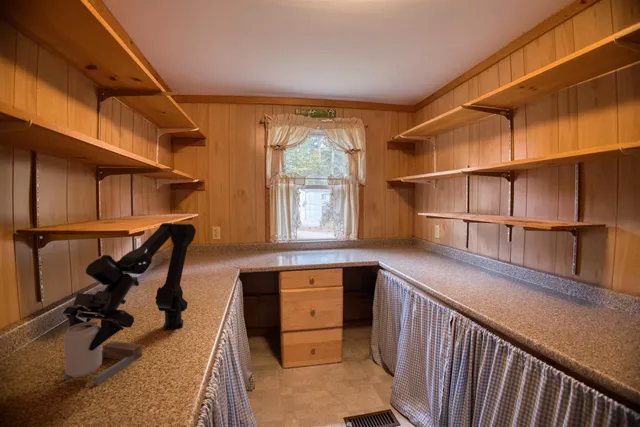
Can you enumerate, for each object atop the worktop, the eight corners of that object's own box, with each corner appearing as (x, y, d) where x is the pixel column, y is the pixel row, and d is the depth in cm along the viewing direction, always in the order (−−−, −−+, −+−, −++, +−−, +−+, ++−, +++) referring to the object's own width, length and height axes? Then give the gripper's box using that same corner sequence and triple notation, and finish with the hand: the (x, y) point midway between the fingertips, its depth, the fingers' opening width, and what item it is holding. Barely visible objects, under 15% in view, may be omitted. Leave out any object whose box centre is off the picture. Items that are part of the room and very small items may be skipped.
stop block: (112, 352, 90) (111, 341, 90) (141, 356, 87) (141, 345, 87) (103, 357, 87) (102, 345, 87) (133, 361, 85) (133, 350, 84)
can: (108, 361, 80) (107, 319, 79) (88, 378, 72) (86, 332, 72) (81, 362, 80) (79, 319, 79) (57, 379, 72) (55, 332, 71)
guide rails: (103, 357, 87) (102, 350, 87) (133, 361, 85) (133, 354, 84) (63, 379, 76) (63, 372, 76) (97, 385, 74) (97, 377, 74)
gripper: (68, 277, 80) (22, 333, 70) (123, 281, 76) (83, 342, 66) (96, 295, 88) (59, 348, 78) (148, 299, 85) (115, 356, 75)
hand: (78, 348), depth 74 cm, fingers closed on can, 7 cm apart
